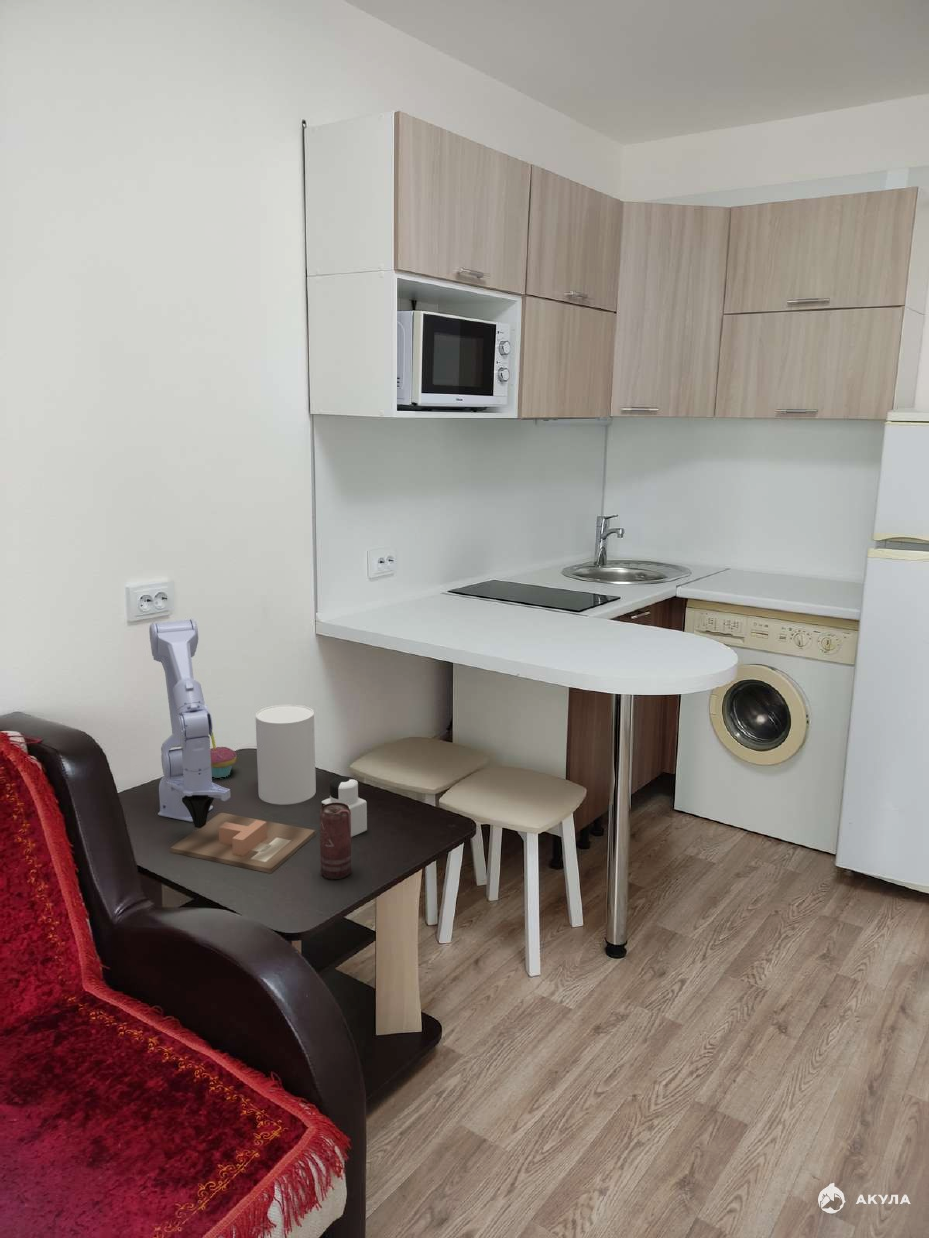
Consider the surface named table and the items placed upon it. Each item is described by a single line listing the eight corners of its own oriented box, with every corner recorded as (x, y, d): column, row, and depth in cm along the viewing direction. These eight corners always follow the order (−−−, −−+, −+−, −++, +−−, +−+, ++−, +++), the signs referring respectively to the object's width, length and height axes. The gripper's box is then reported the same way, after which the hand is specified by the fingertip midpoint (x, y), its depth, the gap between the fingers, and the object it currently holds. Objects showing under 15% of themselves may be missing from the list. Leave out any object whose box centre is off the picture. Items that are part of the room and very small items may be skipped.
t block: (210, 849, 187) (209, 833, 186) (234, 830, 195) (234, 815, 195) (243, 855, 185) (242, 840, 184) (267, 836, 193) (266, 821, 192)
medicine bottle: (321, 830, 198) (320, 779, 196) (346, 820, 203) (345, 770, 201) (342, 841, 194) (341, 789, 191) (367, 830, 199) (367, 779, 196)
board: (170, 852, 188) (170, 847, 188) (221, 816, 204) (221, 812, 204) (271, 873, 180) (270, 868, 180) (315, 834, 196) (315, 830, 196)
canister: (246, 795, 215) (243, 716, 211) (285, 776, 227) (283, 700, 222) (289, 809, 209) (286, 727, 204) (327, 789, 220) (325, 711, 215)
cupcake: (196, 780, 224) (194, 734, 221) (211, 767, 232) (209, 722, 229) (229, 782, 222) (227, 736, 220) (243, 769, 231) (241, 725, 228)
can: (347, 882, 177) (346, 816, 174) (316, 878, 178) (314, 812, 175) (356, 867, 183) (356, 803, 180) (327, 863, 184) (325, 799, 181)
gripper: (155, 767, 188) (159, 828, 191) (215, 778, 183) (218, 839, 186) (177, 756, 195) (180, 814, 198) (235, 765, 190) (237, 825, 193)
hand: (200, 825), depth 193 cm, fingers closed
